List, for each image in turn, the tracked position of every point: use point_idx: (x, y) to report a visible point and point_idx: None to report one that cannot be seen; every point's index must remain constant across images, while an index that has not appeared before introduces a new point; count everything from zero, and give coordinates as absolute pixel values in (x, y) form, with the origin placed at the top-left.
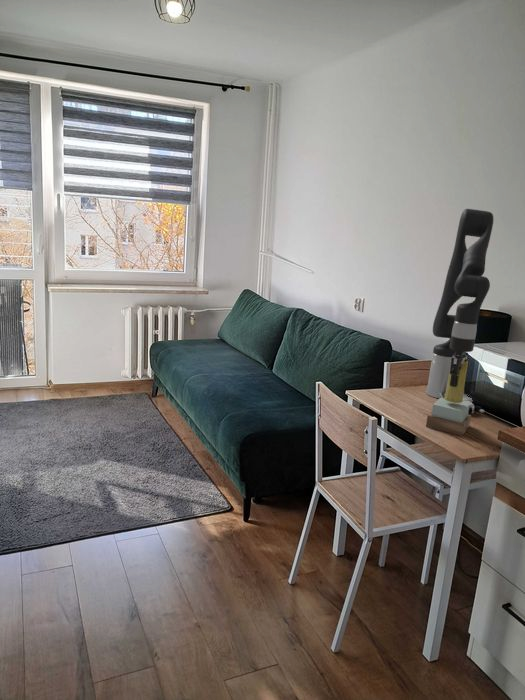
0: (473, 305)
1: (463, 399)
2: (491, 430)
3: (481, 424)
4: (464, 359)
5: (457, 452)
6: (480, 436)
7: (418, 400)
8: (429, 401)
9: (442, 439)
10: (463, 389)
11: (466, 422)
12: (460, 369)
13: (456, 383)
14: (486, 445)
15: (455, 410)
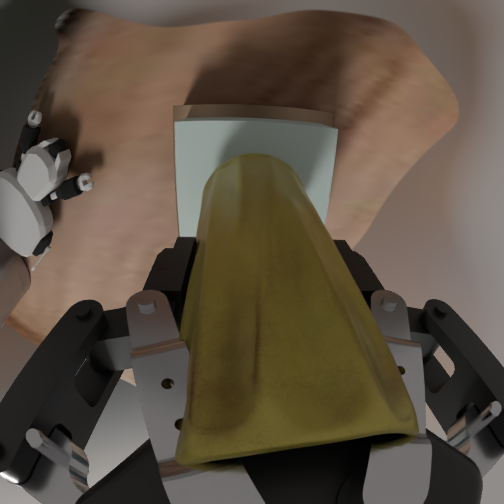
0: None
1: (17, 196)
2: (172, 33)
3: (129, 77)
4: (428, 467)
5: (449, 124)
6: (275, 52)
7: (81, 297)
8: (61, 274)
9: (387, 166)
10: (276, 180)
11: (278, 106)
12: (408, 341)
13: (351, 254)
14: (353, 36)
15: (332, 166)
